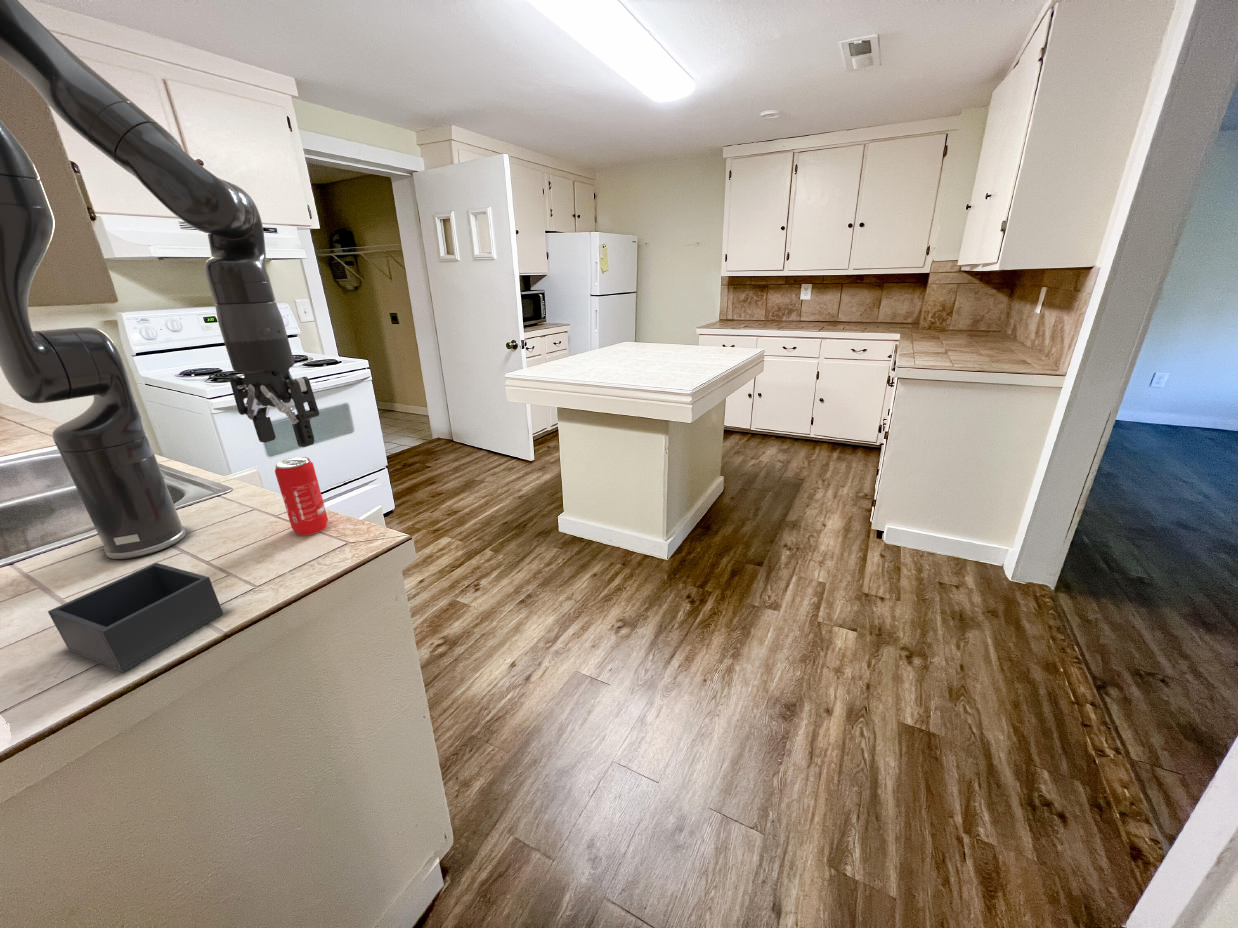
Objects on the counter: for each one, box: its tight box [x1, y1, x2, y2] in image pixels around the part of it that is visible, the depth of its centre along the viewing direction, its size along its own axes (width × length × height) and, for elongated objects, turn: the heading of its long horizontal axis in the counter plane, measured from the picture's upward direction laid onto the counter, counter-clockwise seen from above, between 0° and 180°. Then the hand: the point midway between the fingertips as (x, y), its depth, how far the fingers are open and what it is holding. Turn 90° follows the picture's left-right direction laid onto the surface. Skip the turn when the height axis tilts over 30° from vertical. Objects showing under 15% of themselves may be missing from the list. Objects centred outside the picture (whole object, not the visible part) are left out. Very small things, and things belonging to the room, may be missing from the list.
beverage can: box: [274, 456, 329, 537], centre depth 79 cm, size 5×5×12 cm
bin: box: [47, 562, 224, 674], centre depth 57 cm, size 10×10×6 cm
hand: (287, 443), depth 75 cm, fingers open, 8 cm apart
